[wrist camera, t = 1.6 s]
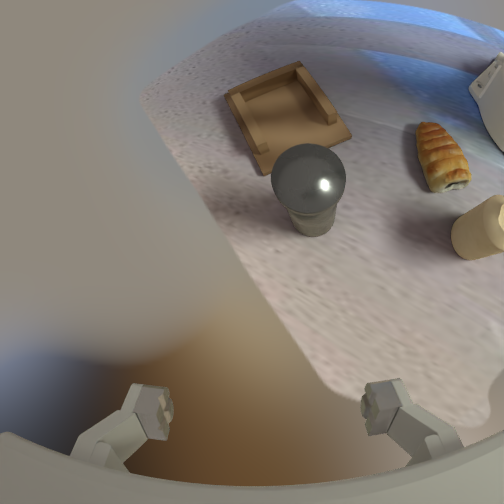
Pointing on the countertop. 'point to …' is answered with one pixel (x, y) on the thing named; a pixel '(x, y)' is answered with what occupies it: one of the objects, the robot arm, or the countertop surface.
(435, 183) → the pastry
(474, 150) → the countertop surface
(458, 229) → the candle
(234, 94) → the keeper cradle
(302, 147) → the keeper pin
